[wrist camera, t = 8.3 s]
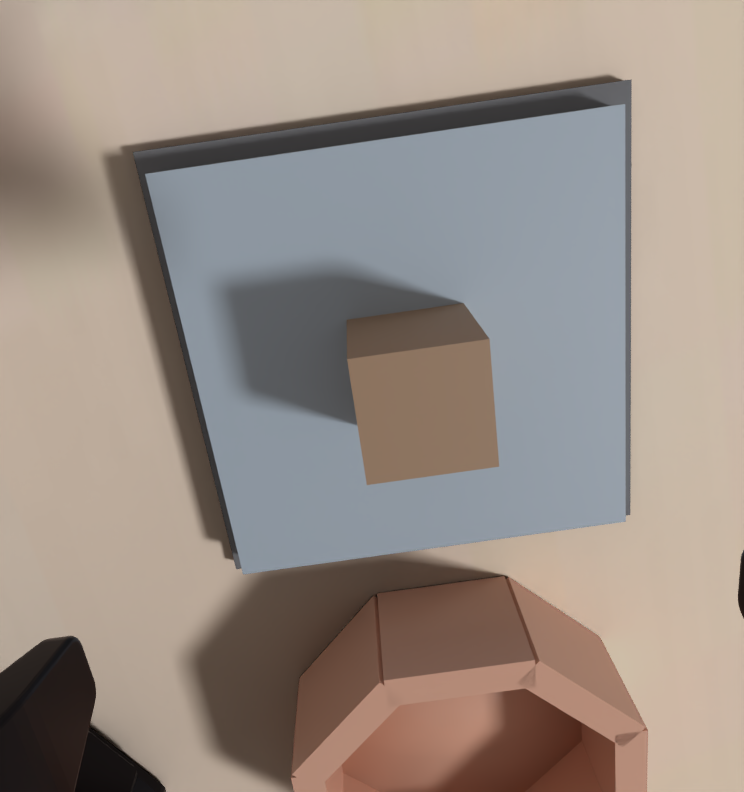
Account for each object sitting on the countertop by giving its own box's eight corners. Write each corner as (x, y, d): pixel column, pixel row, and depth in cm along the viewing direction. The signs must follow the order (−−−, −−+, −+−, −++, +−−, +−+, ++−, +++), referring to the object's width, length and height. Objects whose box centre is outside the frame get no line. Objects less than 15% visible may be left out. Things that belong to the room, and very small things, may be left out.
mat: (625, 508, 22) (630, 514, 22) (238, 561, 23) (236, 569, 22) (625, 80, 18) (631, 79, 17) (137, 151, 18) (132, 151, 18)
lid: (613, 505, 22) (677, 592, 18) (247, 555, 22) (224, 654, 18) (610, 105, 18) (694, 95, 13) (155, 171, 18) (97, 182, 14)
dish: (603, 792, 27) (645, 896, 23) (332, 828, 27) (330, 937, 24) (600, 563, 23) (649, 644, 19) (282, 606, 23) (270, 695, 20)
